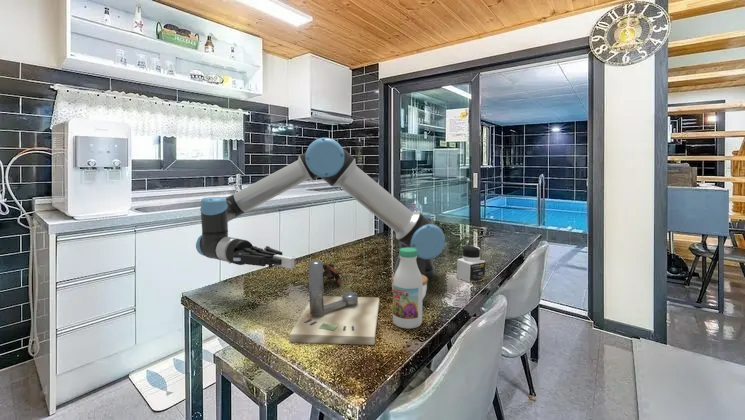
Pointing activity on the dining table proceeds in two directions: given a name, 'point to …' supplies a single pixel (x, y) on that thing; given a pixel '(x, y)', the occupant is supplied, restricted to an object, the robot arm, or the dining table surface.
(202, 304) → the dining table surface
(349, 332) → the dial board
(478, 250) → the medicine bottle
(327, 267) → the pottery mug
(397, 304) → the milk bottle
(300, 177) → the robot arm
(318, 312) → the lever
